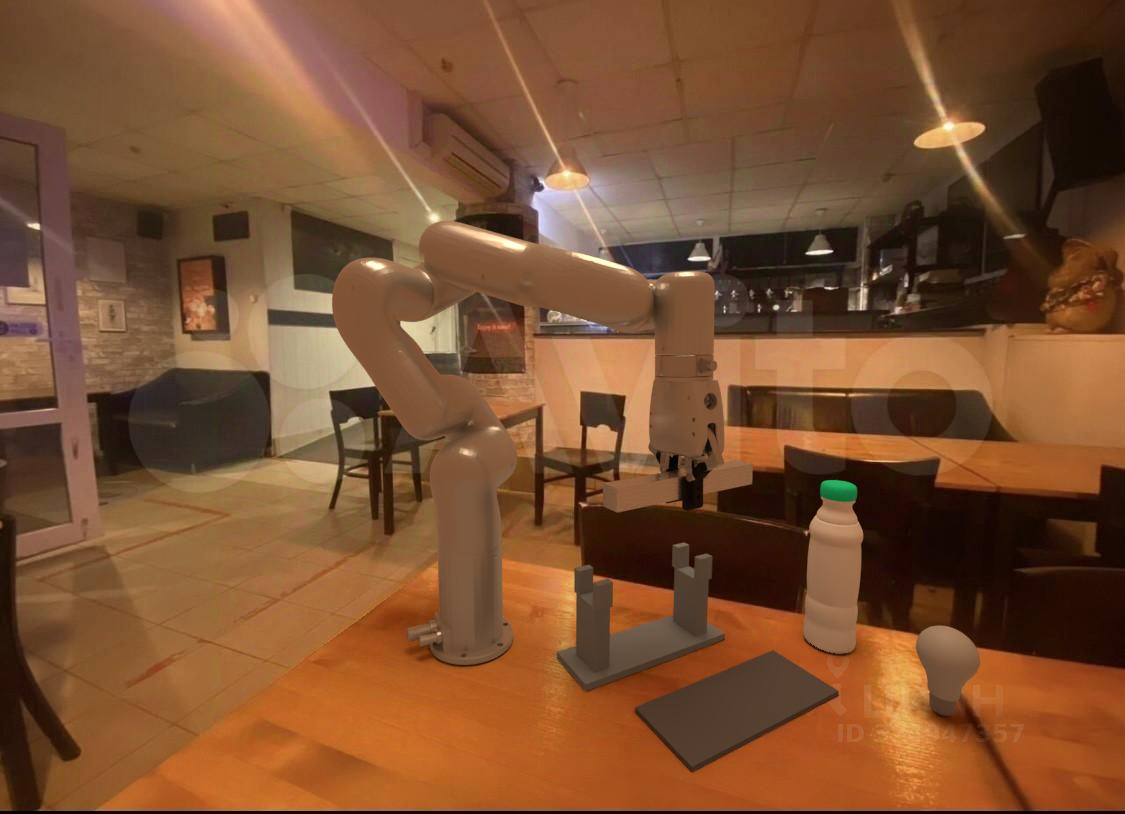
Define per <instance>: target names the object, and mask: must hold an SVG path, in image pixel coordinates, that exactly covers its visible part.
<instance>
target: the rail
mask: <svg viewBox="0 0 1125 814" xmlns="http://www.w3.org/2000/svg"><path fill="white" fill-rule="evenodd" d="M753 465H754V464H753V463H751V462H748V461H747V462H746V461H742V460H738V459H734V460H729V461H728V460H727V461H724V464H723V465H722V466H719V467H717V468H715V469H713V470H712V471H711V472H710V473H709V474H708V476H707V478H706V479H703V495H706V494H712V493H716V492H721V491H725V490H730V489H734V488H739V487H745V486H748V485H753ZM683 480H687V479H686V472H685V468H680V470H675V471H669V472H663V473H661V472H659V473H654V474H647V475H642V476H636V477H630V478H624V479H619V480H618V479H617V480H612V481H607V482H602V506H603V507H604V508H606V509H608V510H611V511H612V512H615V513H616V514H617V513H622V512H626V511H631V510H635V509H641V508H645V507H646V508H647V507H650V506H654V505H655V506H656V505H658V504H659V505H660V504H664V503H665V502H669V501H674V500H679V499H682V482H683ZM665 504H666V503H665Z"/></svg>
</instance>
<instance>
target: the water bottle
mask: <svg viewBox="0 0 1125 814" xmlns="http://www.w3.org/2000/svg"><path fill="white" fill-rule="evenodd" d="M819 488H820V489H819V494H820V499H821V500H822V505H821V506H820V508H818V510H817V511H816V514H815V516H814V517H813V519H812V520H811V521H810V524H809V527H808V528H809V529H808V530H809V534H810V538H809V542H808V544H809V545H808V551H807V567H806V589H807V592H806V594H805V598H804V599H805V600H804V610H805V615H804V620H803V628H802V631H803V636H804V638H805V639H806V641H807V642H808V643H809V644H810V643H811V644H812V645H811V644H810V645H811V646H813V645H814V646H815V647H814V646H813V647H814V648H816V647H817V648H816V649H818V648H819V649H818V650H820V649H821V650H820V651H822V650H824V651H823V652H825V651H826V653H829V652H830V653H829V654H833V653H835V655H845V654H848V653H852V652H853V651H854V650H855V648H856V644H857V643H856V642H857V628H856V625H857V622H858V615H859V613H858V611H859V608H858V598H859V593H860V591H859V590H860V583H861V571H862V543H863V541H864V532H863V529H862V526H861V524H860V522H859V520H858V516H857V514H856V513H855V511H854V509H853V505H854V504H855V503H856V500H857V497H858V487H857V486H856V485H855V484H853V483H851V482H849V481H845V480H838V479H835V480H834V479H831V480H830V479H828V480H824V481H822V482H821V484H820V487H819ZM844 653H845V654H844Z"/></svg>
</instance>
